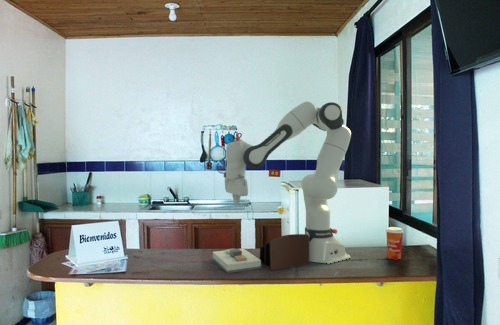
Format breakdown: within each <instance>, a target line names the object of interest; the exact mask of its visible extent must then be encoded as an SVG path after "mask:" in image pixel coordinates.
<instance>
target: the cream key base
mask: <svg viewBox="0 0 500 325" xmlns="http://www.w3.org/2000/svg"><path fill="white" fill-rule="evenodd" d="M239 249H240V250H241V251H242V255H244V256H245V257H247V260H246V261H238V262H237V261H236V260H235V259H234V258H232V257H231V256H230V254H229V255H228V254H227V253H226V249H225V250H219V251H217V250H216V251H212V260H213V262H215V263H216V264H217V265H218V266H219V267H220V268H221V269H223V270H224V272H226V273H227V274H231V273H239V272H246V271H251V270H252V271H253V270H261V269H262V265H261V260H260V258H258V256H255V255H254V254H252V253H251V252H249V251H248V250H246V249H245V248H239Z"/></svg>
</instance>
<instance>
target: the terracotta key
mask: <svg viewBox="0 0 500 325" xmlns="http://www.w3.org/2000/svg"><path fill="white" fill-rule="evenodd" d="M234 259H235V260H236V261H237V262H238V261H246V260H247V257H245V256H244V255H239V256H235V258H234Z"/></svg>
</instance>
